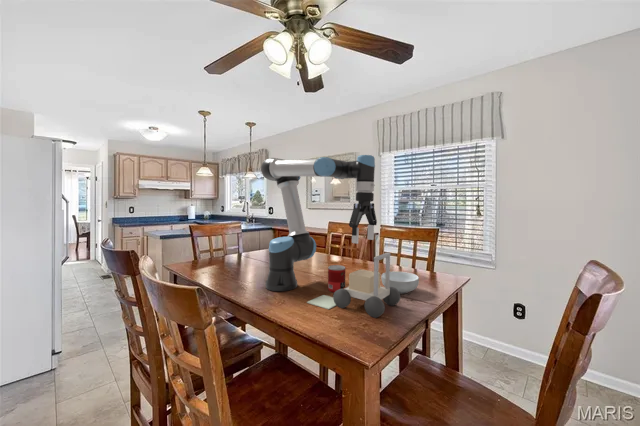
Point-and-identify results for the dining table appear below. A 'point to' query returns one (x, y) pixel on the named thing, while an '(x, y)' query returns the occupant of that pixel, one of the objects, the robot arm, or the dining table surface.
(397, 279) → the cereal bowl
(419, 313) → the dining table surface
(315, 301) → the mat
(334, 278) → the canned food
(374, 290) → the trolley
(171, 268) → the dining table surface
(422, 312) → the dining table surface
